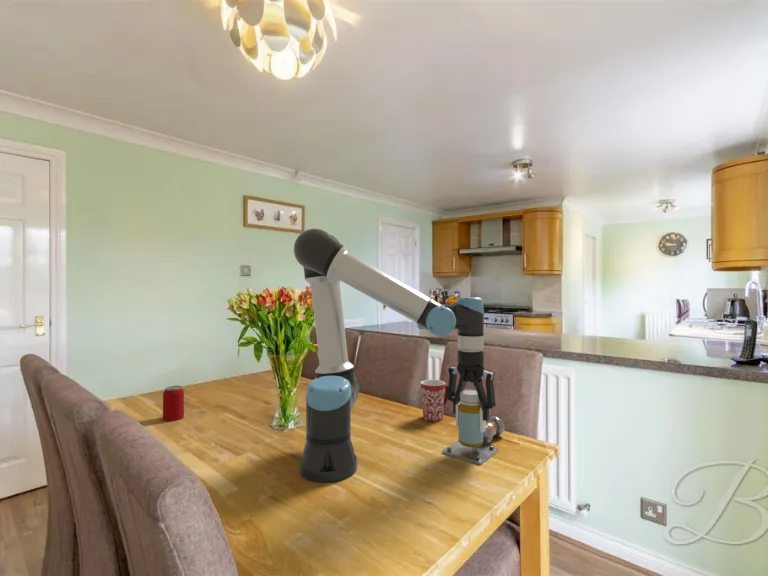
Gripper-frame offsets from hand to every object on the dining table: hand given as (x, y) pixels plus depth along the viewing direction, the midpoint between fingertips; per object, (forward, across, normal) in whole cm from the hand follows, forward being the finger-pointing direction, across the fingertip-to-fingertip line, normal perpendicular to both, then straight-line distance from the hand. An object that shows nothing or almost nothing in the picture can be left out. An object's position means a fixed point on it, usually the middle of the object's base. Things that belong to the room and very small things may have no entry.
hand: (470, 428), depth 116 cm
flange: (+7, 0, 0) cm, 7 cm away
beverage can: (+7, +96, +43) cm, 106 cm away
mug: (+7, +24, -20) cm, 32 cm away
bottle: (+5, 0, 0) cm, 5 cm away
